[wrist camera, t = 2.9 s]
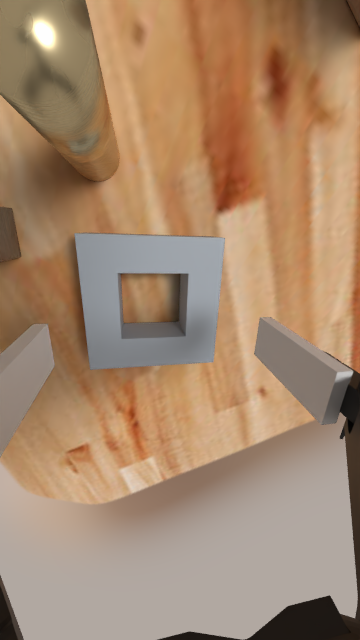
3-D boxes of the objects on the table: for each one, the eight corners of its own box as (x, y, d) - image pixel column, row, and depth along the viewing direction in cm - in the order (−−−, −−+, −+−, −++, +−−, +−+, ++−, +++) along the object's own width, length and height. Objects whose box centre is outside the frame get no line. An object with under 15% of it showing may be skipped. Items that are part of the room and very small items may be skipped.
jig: (96, 349, 26) (90, 369, 22) (84, 232, 22) (74, 233, 18) (203, 344, 28) (213, 362, 24) (211, 236, 24) (225, 238, 20)
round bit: (59, 136, 19) (-101, -54, 6) (104, 115, 19) (39, -117, 6) (85, 189, 21) (3, 123, 8) (127, 169, 21) (114, 72, 8)
